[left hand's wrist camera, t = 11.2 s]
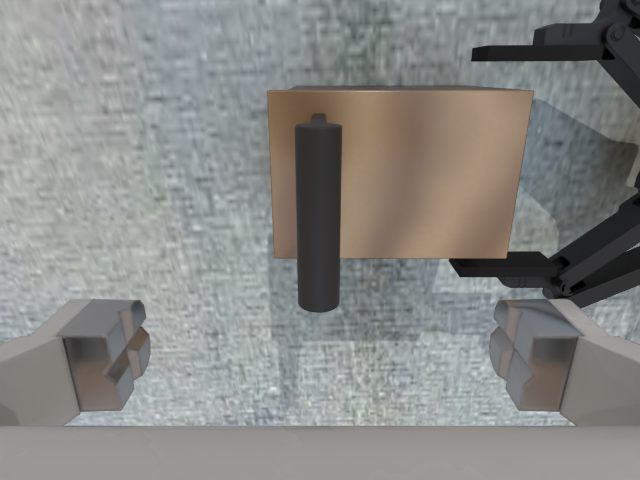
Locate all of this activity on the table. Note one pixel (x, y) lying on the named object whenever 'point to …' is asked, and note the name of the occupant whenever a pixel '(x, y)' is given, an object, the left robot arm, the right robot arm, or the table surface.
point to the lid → (391, 177)
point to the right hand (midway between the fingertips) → (465, 167)
